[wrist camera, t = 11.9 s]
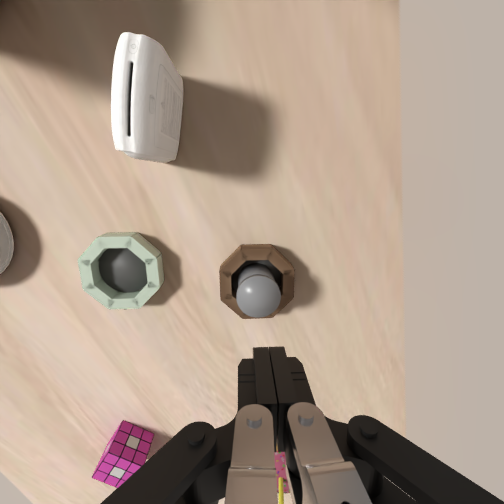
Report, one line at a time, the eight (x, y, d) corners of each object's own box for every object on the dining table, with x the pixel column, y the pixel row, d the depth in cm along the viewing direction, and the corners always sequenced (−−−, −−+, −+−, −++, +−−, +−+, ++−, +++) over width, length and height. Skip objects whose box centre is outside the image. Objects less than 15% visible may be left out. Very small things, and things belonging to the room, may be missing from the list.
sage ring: (83, 233, 39) (73, 237, 36) (159, 231, 39) (154, 235, 37) (95, 301, 42) (86, 310, 39) (166, 299, 42) (161, 307, 39)
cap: (236, 261, 40) (235, 277, 35) (275, 260, 40) (281, 276, 35) (237, 297, 42) (237, 318, 36) (274, 296, 42) (280, 316, 36)
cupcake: (245, 445, 50) (247, 528, 38) (276, 413, 48) (288, 489, 37) (283, 467, 52) (296, 553, 40) (315, 436, 50) (337, 516, 38)
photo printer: (150, 68, 34) (102, 14, 22) (187, 75, 34) (159, 25, 22) (144, 159, 37) (99, 154, 25) (178, 165, 37) (150, 163, 25)
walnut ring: (219, 245, 40) (218, 249, 38) (291, 243, 40) (295, 248, 38) (222, 311, 43) (221, 319, 40) (290, 309, 43) (292, 317, 41)
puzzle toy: (123, 419, 47) (108, 452, 42) (154, 433, 48) (143, 467, 43) (107, 443, 49) (91, 478, 43) (138, 456, 50) (126, 492, 44)
